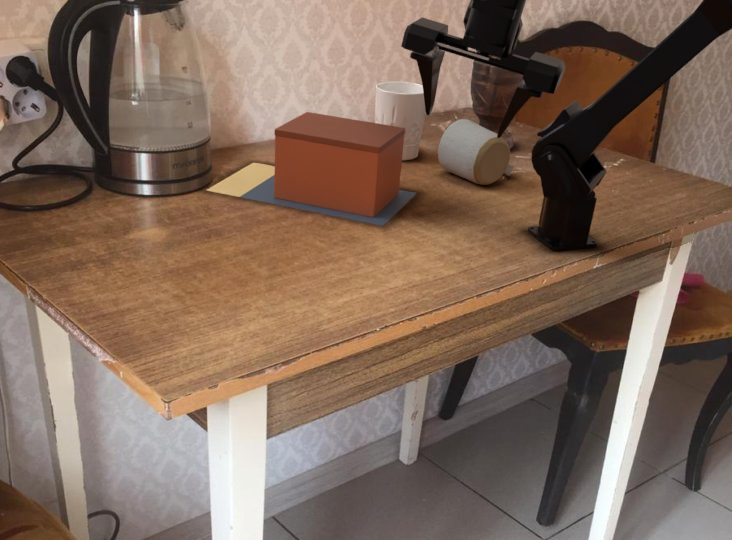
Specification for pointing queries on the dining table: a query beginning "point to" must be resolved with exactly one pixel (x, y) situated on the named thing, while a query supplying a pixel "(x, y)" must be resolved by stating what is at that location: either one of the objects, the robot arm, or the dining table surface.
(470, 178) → the ceramic mug
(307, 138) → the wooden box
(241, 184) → the mat
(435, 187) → the dining table surface
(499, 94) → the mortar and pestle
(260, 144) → the dining table surface
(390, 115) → the white cup
